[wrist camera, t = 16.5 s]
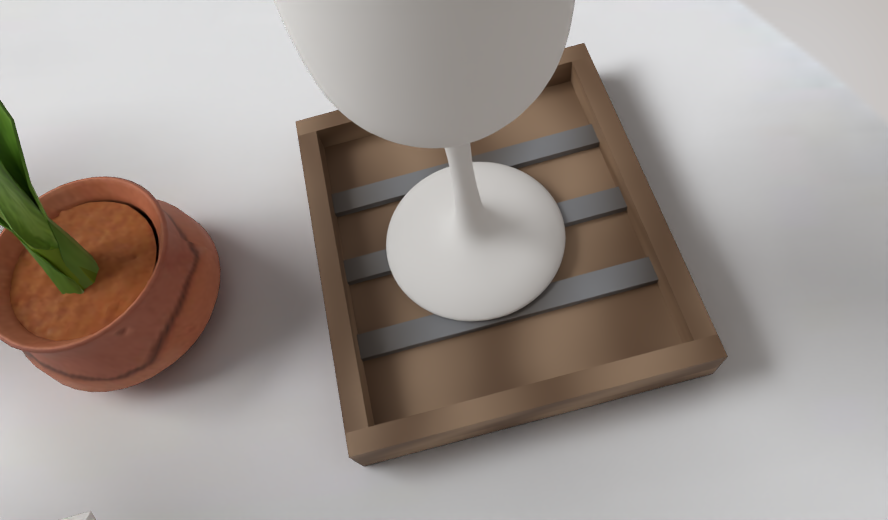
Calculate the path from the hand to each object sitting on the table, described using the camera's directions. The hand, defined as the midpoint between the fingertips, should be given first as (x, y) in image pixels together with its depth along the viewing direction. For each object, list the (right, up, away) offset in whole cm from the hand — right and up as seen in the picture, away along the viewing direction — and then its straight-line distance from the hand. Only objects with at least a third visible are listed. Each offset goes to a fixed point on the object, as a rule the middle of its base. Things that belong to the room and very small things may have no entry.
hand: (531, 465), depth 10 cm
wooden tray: (+1, +4, +23) cm, 23 cm away
